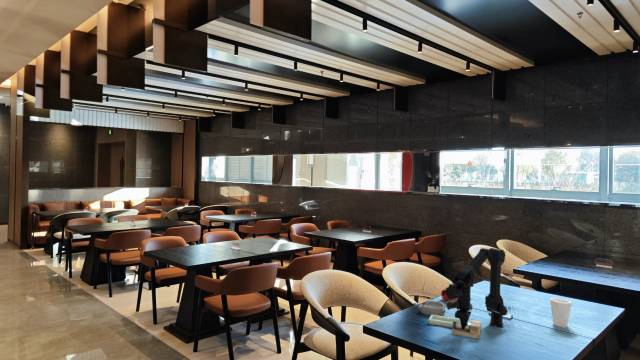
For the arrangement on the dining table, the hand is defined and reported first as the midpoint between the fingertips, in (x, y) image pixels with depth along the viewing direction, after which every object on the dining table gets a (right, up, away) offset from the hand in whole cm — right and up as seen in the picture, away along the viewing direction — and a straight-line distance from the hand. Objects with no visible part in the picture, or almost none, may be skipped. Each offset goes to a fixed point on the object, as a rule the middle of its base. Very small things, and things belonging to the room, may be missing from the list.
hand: (463, 327), depth 201 cm
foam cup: (+56, -4, +14) cm, 57 cm away
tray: (-5, -2, +12) cm, 14 cm away
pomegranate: (+10, -3, +53) cm, 54 cm away
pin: (+1, +1, 0) cm, 1 cm away
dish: (-7, -3, +30) cm, 31 cm away
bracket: (+1, -3, 0) cm, 3 cm away
